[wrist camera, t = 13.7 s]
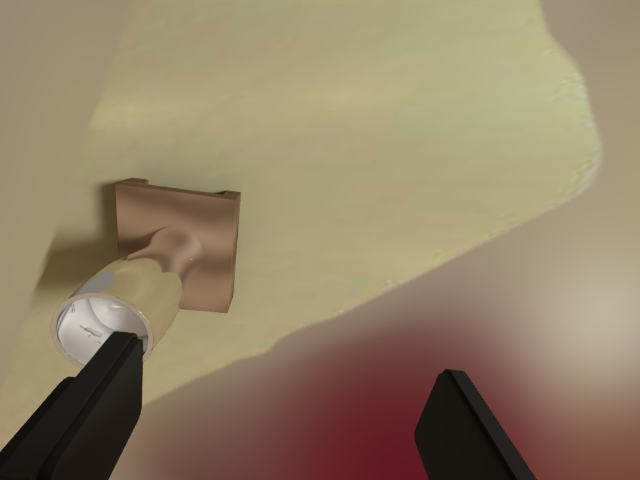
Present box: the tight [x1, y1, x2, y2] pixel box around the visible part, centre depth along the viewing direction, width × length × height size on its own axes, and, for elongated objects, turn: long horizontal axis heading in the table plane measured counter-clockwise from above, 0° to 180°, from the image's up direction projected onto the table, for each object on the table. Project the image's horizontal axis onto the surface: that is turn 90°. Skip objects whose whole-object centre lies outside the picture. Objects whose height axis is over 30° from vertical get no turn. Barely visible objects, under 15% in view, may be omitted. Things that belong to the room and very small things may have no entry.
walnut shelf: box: [115, 178, 241, 313], centre depth 38 cm, size 14×12×4 cm
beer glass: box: [50, 227, 205, 369], centre depth 29 cm, size 7×7×15 cm
